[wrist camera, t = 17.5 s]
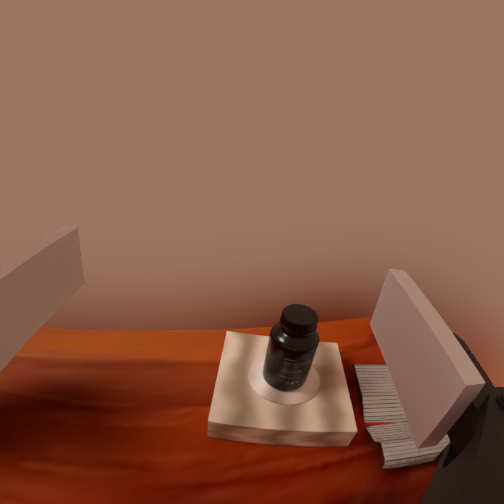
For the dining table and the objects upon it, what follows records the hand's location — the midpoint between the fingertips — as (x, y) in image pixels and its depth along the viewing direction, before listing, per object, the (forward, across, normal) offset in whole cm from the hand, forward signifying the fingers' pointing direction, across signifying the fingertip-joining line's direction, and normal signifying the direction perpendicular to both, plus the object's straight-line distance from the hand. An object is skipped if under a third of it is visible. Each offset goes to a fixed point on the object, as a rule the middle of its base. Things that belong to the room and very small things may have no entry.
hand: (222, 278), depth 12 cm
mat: (+19, +33, -33) cm, 50 cm away
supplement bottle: (+23, +8, -28) cm, 37 cm away
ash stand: (+23, +8, -32) cm, 40 cm away
